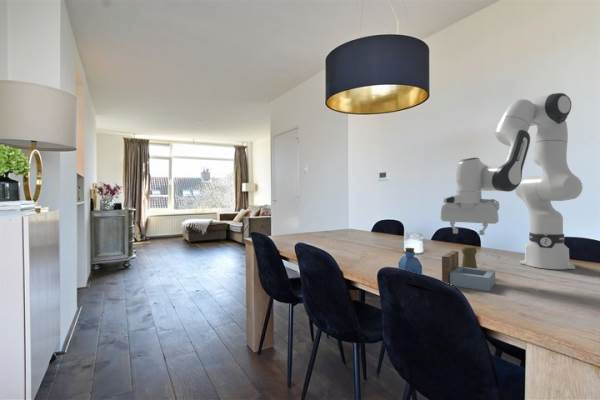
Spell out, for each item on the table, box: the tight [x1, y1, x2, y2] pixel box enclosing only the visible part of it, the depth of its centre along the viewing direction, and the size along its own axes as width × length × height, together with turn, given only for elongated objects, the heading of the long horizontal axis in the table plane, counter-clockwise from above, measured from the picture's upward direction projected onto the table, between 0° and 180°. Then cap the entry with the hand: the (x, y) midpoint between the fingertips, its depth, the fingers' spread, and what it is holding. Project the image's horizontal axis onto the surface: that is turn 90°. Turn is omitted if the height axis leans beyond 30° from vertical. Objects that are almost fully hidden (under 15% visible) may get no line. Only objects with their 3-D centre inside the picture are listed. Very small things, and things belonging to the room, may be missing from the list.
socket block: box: [450, 266, 496, 292], centre depth 113 cm, size 12×12×4 cm
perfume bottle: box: [398, 247, 423, 275], centre depth 119 cm, size 6×6×12 cm
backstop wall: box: [441, 250, 460, 284], centre depth 118 cm, size 14×2×10 cm, turn 140°
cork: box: [461, 245, 478, 269], centre depth 128 cm, size 6×6×11 cm
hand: (468, 234), depth 127 cm, fingers open, 8 cm apart
